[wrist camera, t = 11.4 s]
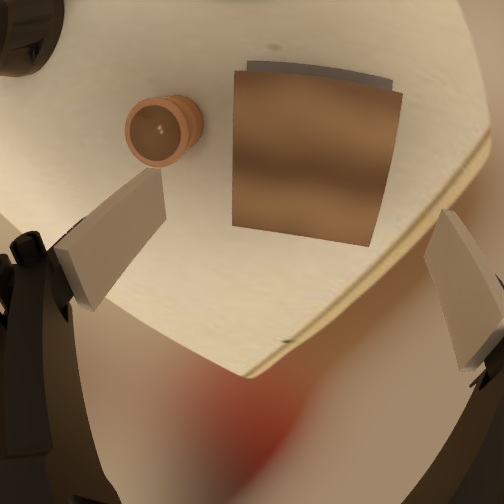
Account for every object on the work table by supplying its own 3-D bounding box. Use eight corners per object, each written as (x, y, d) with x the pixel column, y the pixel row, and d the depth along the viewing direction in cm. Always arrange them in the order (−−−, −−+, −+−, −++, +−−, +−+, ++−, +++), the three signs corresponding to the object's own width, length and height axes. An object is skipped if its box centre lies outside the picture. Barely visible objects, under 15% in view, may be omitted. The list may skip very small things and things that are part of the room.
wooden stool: (261, 71, 24) (234, 70, 16) (376, 86, 22) (402, 93, 15) (256, 182, 31) (232, 225, 23) (357, 197, 29) (368, 247, 22)
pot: (147, 94, 28) (121, 101, 24) (205, 91, 27) (185, 96, 23) (150, 152, 32) (128, 166, 28) (206, 154, 31) (188, 169, 27)
